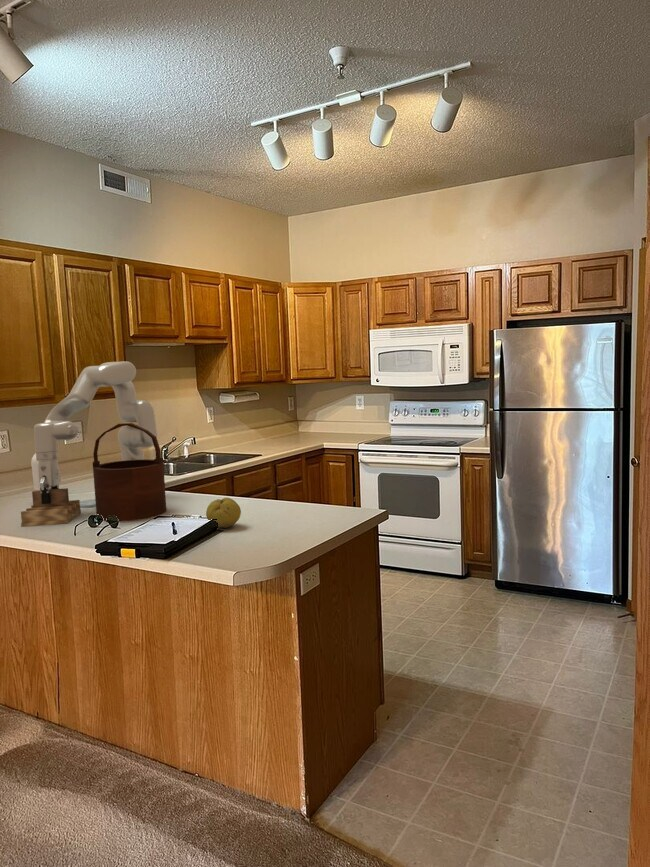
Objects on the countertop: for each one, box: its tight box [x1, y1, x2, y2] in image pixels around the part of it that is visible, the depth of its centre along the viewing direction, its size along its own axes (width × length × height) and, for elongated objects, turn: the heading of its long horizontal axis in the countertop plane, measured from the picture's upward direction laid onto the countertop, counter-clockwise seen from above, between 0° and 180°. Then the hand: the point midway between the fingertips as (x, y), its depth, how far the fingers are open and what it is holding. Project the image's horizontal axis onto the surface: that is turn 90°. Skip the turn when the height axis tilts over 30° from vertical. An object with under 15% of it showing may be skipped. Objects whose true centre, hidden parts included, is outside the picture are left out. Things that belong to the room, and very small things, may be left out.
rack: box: [20, 499, 82, 527], centre depth 231 cm, size 16×18×5 cm
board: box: [31, 487, 70, 508], centre depth 231 cm, size 12×3×10 cm, turn 97°
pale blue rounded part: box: [80, 498, 96, 509], centre depth 256 cm, size 12×12×1 cm
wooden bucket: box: [92, 422, 167, 522], centre depth 235 cm, size 26×26×35 cm
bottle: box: [30, 452, 51, 491], centre depth 264 cm, size 8×8×30 cm
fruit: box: [205, 497, 242, 529], centre depth 209 cm, size 11×12×10 cm
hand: (50, 500), depth 231 cm, fingers open, 9 cm apart
